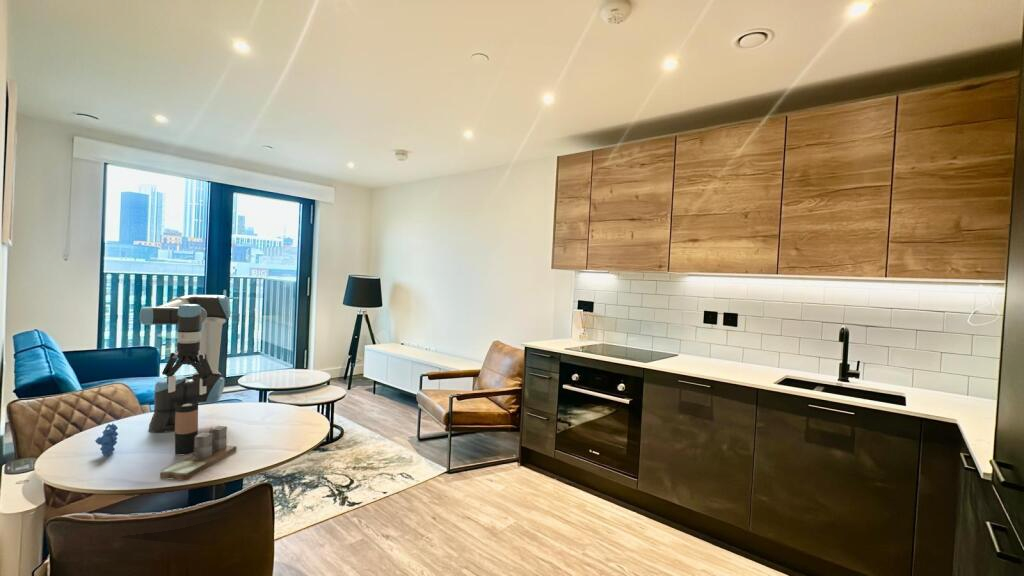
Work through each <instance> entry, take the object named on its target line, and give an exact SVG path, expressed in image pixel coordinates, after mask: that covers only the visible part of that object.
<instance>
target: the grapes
mask: <svg viewBox="0 0 1024 576" xmlns="http://www.w3.org/2000/svg"><path fill="white" fill-rule="evenodd" d="M104 428H105V429H104V430H103V431H102V432H101V433H102V434H103V435H101V436H99V437H97V438H96V439H95V441H94V442H95V443H96V444H97V445H99V446H101V447H100V448H99V449H100V451H101V454H102V456H103V457H108V456H110V455H111V454H112V453H113V452H114V451H115V449H116V448H115V446H116V444H117V443H118V438H117V436H119V432H117V430H118V425H116V424H114V423H112V422H111V423H108V424H107V425H106V426H105V427H104Z"/></svg>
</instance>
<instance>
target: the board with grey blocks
mask: <svg viewBox="0 0 1024 576" xmlns="http://www.w3.org/2000/svg"><path fill="white" fill-rule="evenodd" d="M227 433H228V427H227V426H226V425H225V426H224V425H217V426H214V427H212V428H210V430H209V431H208V432H201V433H198V435H197V436H195V438H194V446H193V454H192V455H191V456H189V457H187V458H186V459H184V460H183V459H182V460H180V461H179V462H177V463H175V464H173V465H171V466H169V467H167V468H165V469H163V470H161V471H160V472H159V474H160V475H159V478H160V479H166V478H173V479H172V480H178V479H181V481H187V480H189V479H191V478H192V477H194V476H196V475H197V474H199V473H201V472H203V471H204V470H206V469H208V468H211V466H213V465H215V464H216V463H218V462H221V460H223V459H224V458H227V457H228V456H231V455H232V454H233V453H236V451H237V446H236V445H227V439H228V438H227V435H228V434H227Z"/></svg>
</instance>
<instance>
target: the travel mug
mask: <svg viewBox="0 0 1024 576" xmlns="http://www.w3.org/2000/svg"><path fill="white" fill-rule="evenodd" d="M198 429H199V403H198V402H193V403H189V402H182V403H178V404H177V405H176V415H175V431H174V452H175V455H177V454H185V455H189V453H190V454H192V453H193V446H194V438H195V436H197V435H199V432H198V431H199V430H198Z"/></svg>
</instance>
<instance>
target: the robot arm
mask: <svg viewBox="0 0 1024 576" xmlns="http://www.w3.org/2000/svg"><path fill="white" fill-rule="evenodd" d="M229 299H230V298H229V297H228V296H227V295H222V294H221V295H220V294H187V295H182V296H178V297H174V298H172V299H170V300H169V301H168V302H167V303H164V304H160V305H157V306H144V307H142V308H141V309H140V311H139V317H138V318H139V323H141V325H144V326H145V325H147V326H148V325H150V326H154V325H157V326H158V325H159V326H160V325H163V326H164V325H172V326H173V325H175V326H176V325H177V335H176V336H177V340H176V341H177V344H176V352H175V351H174V352H170V353H169V359H168V361H167V362H166V364H165V366H164V368H163V371H162V372H161V373H162V375H164V376H166V377H165V378H162V379H160V380H158V381H157V382H155V384H154V391H153V394H154V398H153V399H154V400H153V401H154V403H153V405H154V406H153V409H154V410H153V411H154V412H153V415H152V417H151V419H150V422H149V424H148V431H149V432H152V433H168V432H175V415H176V405H177V404H178V403H182V402H189V403H193V402H198V404H209V403H216V402H219V400H221V398H222V395H223V391H224V388H225V377H222V373H221V372H219V365H220V364H219V363H220V355H221V343H222V334H223V333H222V331H223V325H224V324H225V323H226V322H227V319H229V318H230V317H231V303H230V300H229ZM183 365H187V366H191V367H193V368H194V370H196V371H195V373H193V374H192V378H190V379H189V378H187V376H186V375H175V374H176V372H177V371H178V370H179V369H180V368H181V367H182V366H183Z"/></svg>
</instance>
